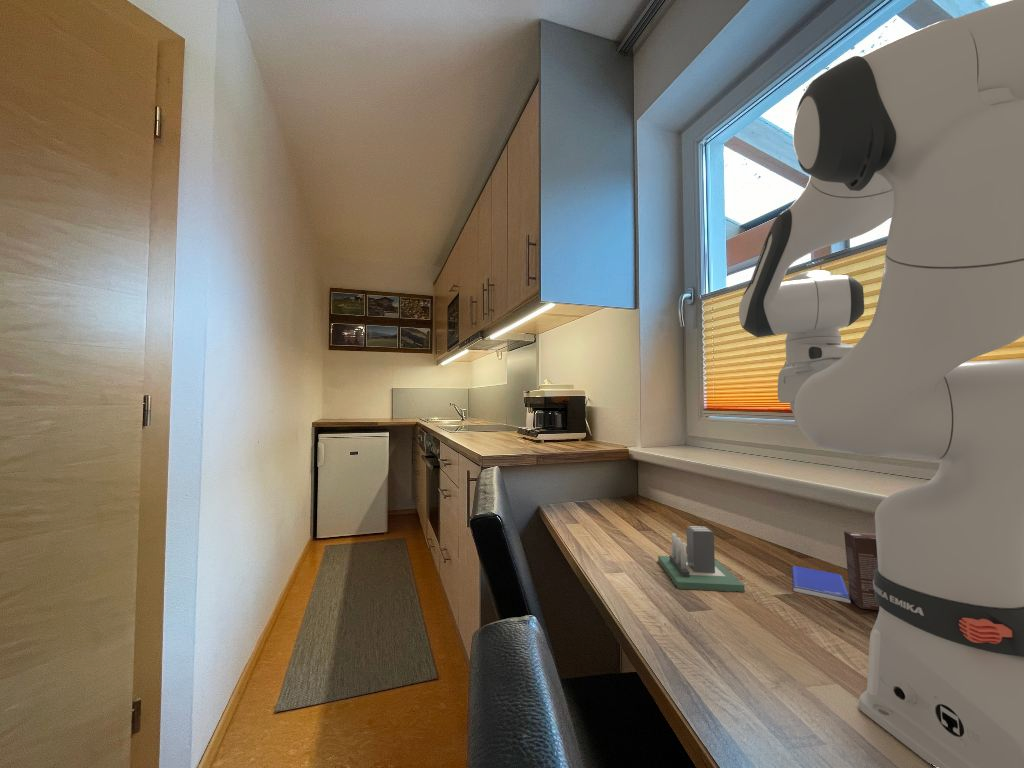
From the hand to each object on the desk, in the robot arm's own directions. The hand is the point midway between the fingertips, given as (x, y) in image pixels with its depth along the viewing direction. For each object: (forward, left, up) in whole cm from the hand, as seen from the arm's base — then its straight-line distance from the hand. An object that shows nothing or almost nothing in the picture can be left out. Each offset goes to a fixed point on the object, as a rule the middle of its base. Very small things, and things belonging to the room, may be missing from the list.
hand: (816, 424), depth 77 cm
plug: (+4, +21, -30) cm, 37 cm away
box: (-6, -4, -31) cm, 32 cm away
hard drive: (+2, 0, -32) cm, 32 cm away
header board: (+4, +22, -31) cm, 38 cm away
